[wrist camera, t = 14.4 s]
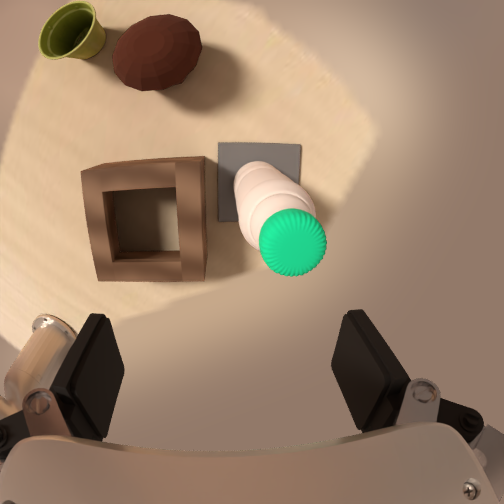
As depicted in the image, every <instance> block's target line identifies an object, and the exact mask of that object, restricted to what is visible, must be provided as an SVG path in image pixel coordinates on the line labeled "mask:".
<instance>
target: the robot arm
mask: <svg viewBox="0 0 504 504" xmlns="http://www.w3.org/2000/svg"><path fill="white" fill-rule="evenodd" d="M32 330H33V334H32V336H31V337H30V339H29V340H28V342H27V343H26V345H25V346H24V347H23V349H22V350H21V352H20V353H19V355H18V357H17V358H16V360H15V361H14V363H13V364H12V366H11V367H10V369H9V371H8V372H7V374H6V377H5V380H4V390H5V397H6V399H5V398H3V397H2V396H1V395H0V504H499V502H500V500H501V498H502V496H503V494H504V434H502V433H501V432H499V431H498V430H496V429H495V428H493V427H492V426H490V425H488V424H487V426H484V422H483V418H482V416H481V415H480V414H479V413H478V412H477V411H476V410H474V409H472V408H468V407H466V406H463V405H459V404H457V403H453V402H451V401H448V400H445V399H442V398H440V390H439V388H438V387H437V385H436V384H435V383H433V382H432V381H430V380H428V379H423V378H418V379H414V380H412V381H411V379H410V378H409V376H408V374H407V373H406V371H405V370H404V368H403V367H402V365H401V364H400V362H399V361H398V359H397V358H396V356H395V355H394V353H393V352H392V350H391V349H390V347H389V346H388V345H387V343H386V342H385V340H384V339H383V337H382V336H381V334H380V333H379V332H378V330H377V329H376V327H375V326H374V324H373V323H372V322H371V320H370V319H369V317H368V316H367V315H366V313H365V312H364V311H363V310H362V309H360V310H350V311H348V312H347V314H345V315H344V316H343V320H342V324H341V328H340V332H339V336H338V340H337V344H336V347H335V351H334V354H333V358H332V362H331V367H332V370H333V373H334V375H335V377H336V380H337V382H338V384H339V387H340V389H341V391H342V394H343V396H344V398H345V401H346V403H347V406H348V408H349V410H350V412H351V415H352V418H353V420H354V422H355V425H356V427H357V428H358V430H361V431H362V433H361V434H358V435H353V436H348V437H343V438H338V439H333V440H328V441H323V442H316V443H310V444H303V445H296V446H288V447H279V448H270V449H257V450H240V451H183V450H166V449H154V448H143V447H135V446H128V445H119V444H113V443H107V442H102V439H103V438H106V436H107V434H108V430H109V425H110V422H111V418H112V414H113V411H114V407H115V403H116V399H117V396H118V393H119V389H120V386H121V383H122V379H123V376H124V364H123V361H122V358H121V355H120V352H119V349H118V346H117V343H116V339H115V336H114V332H113V329H112V325H111V322H110V319H109V318H106V316H105V315H104V314H94V313H92V314H90V315H89V317H88V319H87V320H86V322H85V324H84V325H83V327H82V329H81V331H80V332H79V334H78V336H77V338H76V336H75V334H74V333H73V331H72V330H71V329H70V328H69V327H68V326H67V325H66V324H65V323H64V322H62V321H61V320H59V319H58V318H56V317H54V316H51V315H46V314H45V315H40V316H38V317H37V318H36V319H35V320H34V322H33V325H32Z"/></svg>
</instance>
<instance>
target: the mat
mask: <svg viewBox="0 0 504 504" xmlns="http://www.w3.org/2000/svg"><path fill="white" fill-rule="evenodd" d="M254 161H262V162H266V163H268V164H270V165H272V166H273V167H275V168H276V169H277V170H279V171H280V172H281V173H282V174H284V175H286V176H287V177H288V178H290V179H291V180H292V181H293V182H294V183H296V184H299V166H300V144H280V143H218V206H219V222H239V216H238V212H237V206H236V198H235V193H234V187H233V184H234V178H235V176H236V174H237V172H238V171H239V169H240V168H241V167H243V166H244V165H246V164H247V163H250V162H254Z"/></svg>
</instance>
